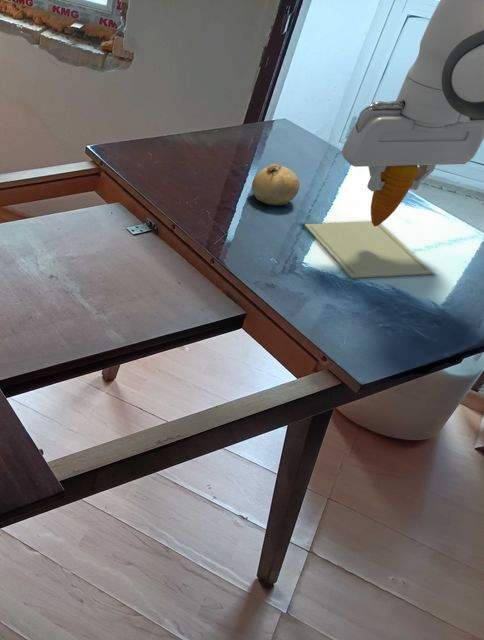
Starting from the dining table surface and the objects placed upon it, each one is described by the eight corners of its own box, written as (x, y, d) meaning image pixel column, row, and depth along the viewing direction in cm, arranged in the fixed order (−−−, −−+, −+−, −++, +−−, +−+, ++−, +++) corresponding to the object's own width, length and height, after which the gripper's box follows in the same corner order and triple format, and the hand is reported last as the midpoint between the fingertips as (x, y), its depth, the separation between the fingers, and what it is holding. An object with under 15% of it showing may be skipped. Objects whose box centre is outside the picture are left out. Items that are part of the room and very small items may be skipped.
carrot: (352, 221, 112) (389, 132, 102) (374, 216, 114) (413, 129, 104) (374, 236, 109) (415, 146, 99) (397, 231, 110) (439, 142, 101)
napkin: (431, 273, 109) (432, 272, 109) (351, 278, 107) (352, 276, 107) (376, 222, 121) (377, 221, 121) (303, 225, 119) (304, 223, 119)
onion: (262, 186, 130) (273, 150, 125) (301, 201, 126) (313, 165, 121) (240, 199, 125) (251, 163, 120) (280, 216, 121) (292, 179, 116)
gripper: (377, 110, 94) (341, 200, 103) (507, 109, 97) (461, 197, 106) (353, 93, 99) (320, 181, 108) (478, 92, 102) (436, 178, 111)
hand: (391, 189), depth 107 cm, fingers closed on carrot, 5 cm apart
